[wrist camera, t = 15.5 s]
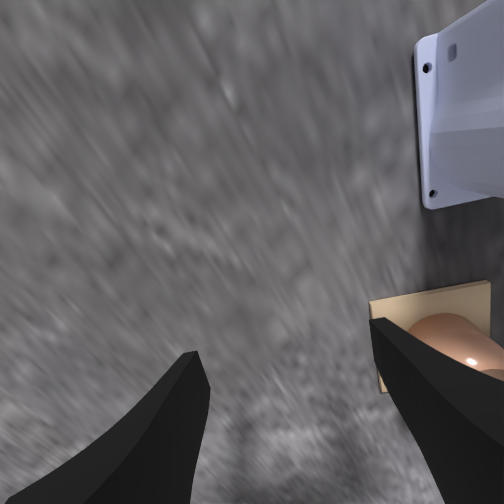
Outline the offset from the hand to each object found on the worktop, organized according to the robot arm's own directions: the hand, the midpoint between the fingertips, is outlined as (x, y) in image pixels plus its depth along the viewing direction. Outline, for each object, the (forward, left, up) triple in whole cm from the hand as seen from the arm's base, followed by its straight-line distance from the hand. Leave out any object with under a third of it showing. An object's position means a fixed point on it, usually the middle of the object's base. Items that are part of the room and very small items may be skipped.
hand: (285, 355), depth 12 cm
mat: (+8, +10, -9) cm, 16 cm away
